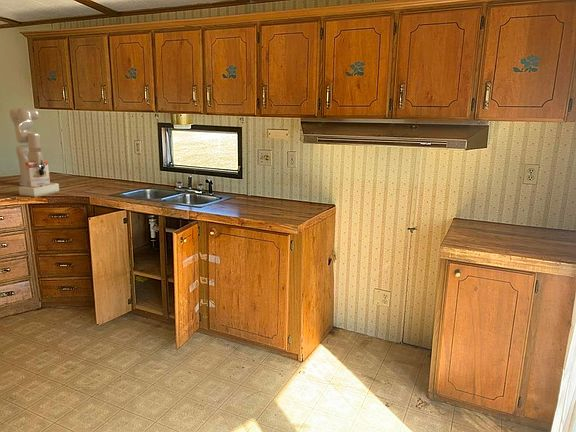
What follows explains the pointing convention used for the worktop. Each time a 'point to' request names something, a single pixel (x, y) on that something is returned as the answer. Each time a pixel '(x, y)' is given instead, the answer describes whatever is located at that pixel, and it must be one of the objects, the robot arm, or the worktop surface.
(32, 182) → the cracker box
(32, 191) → the bin
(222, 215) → the worktop surface
